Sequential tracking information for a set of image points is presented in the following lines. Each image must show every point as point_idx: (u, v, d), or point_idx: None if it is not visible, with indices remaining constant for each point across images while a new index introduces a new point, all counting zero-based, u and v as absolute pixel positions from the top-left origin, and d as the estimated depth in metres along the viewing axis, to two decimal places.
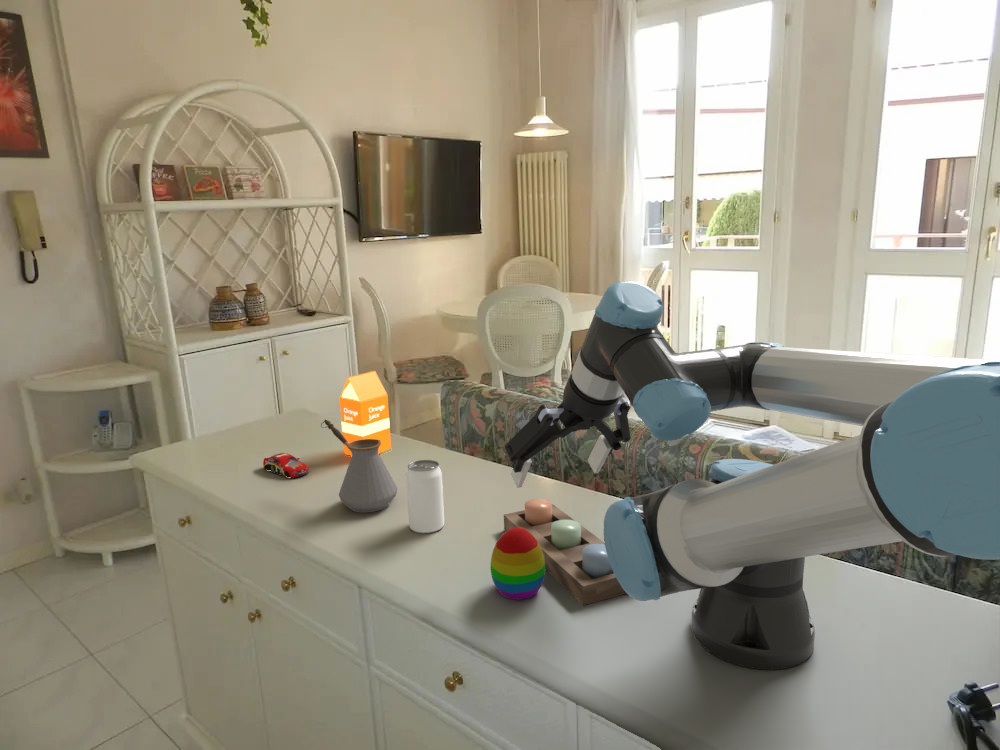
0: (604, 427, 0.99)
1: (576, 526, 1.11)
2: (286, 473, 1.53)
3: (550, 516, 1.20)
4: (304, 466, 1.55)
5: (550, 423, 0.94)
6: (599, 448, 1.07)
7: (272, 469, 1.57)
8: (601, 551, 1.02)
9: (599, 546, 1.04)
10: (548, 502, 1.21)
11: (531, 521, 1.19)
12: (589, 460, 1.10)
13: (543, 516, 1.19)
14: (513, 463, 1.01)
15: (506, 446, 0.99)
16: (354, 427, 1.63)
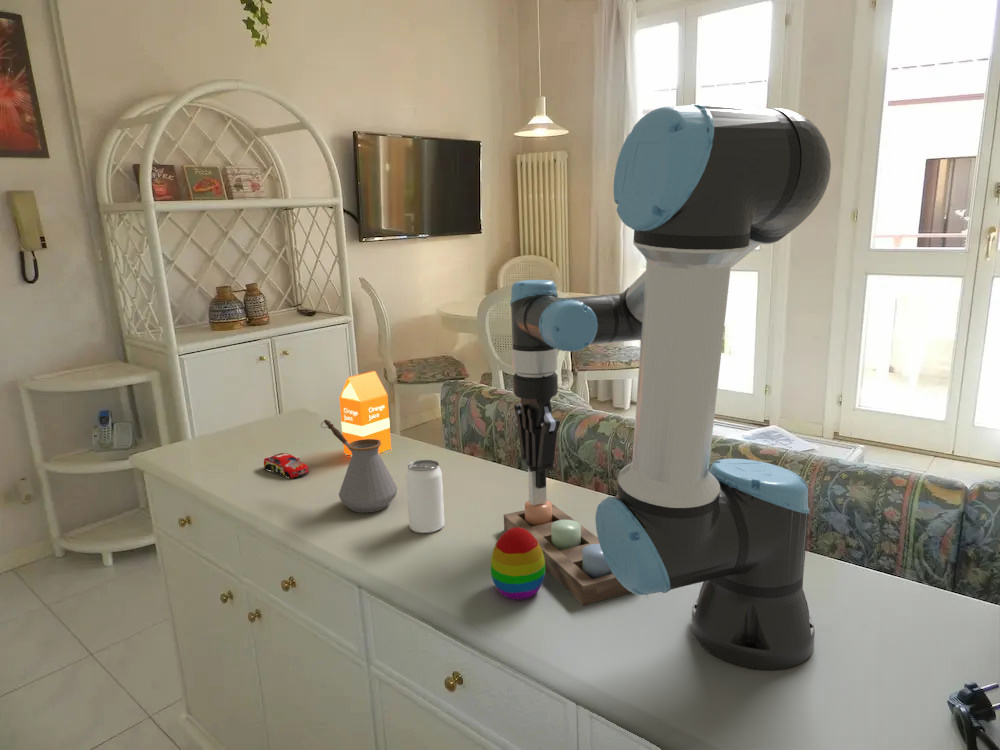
0: (531, 429, 1.15)
1: (576, 526, 1.11)
2: (286, 473, 1.53)
3: (550, 516, 1.20)
4: (304, 466, 1.55)
5: (517, 411, 1.21)
6: None
7: (272, 469, 1.57)
8: (601, 551, 1.02)
9: (599, 546, 1.04)
10: (548, 502, 1.21)
11: (531, 521, 1.19)
12: None
13: (543, 516, 1.19)
14: None
15: None
16: (354, 427, 1.63)
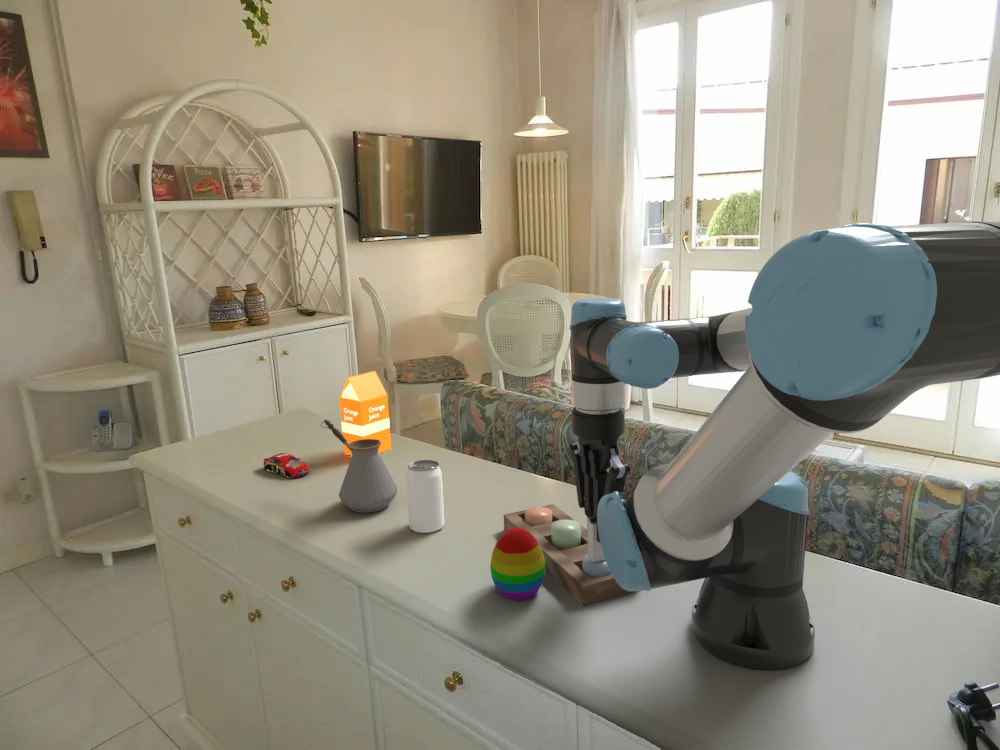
0: (593, 474, 0.98)
1: (576, 526, 1.11)
2: (287, 473, 1.53)
3: None
4: (305, 466, 1.55)
5: (573, 451, 1.03)
6: None
7: (273, 469, 1.57)
8: (601, 560, 1.03)
9: None
10: (548, 510, 1.21)
11: None
12: None
13: None
14: None
15: None
16: (354, 427, 1.63)
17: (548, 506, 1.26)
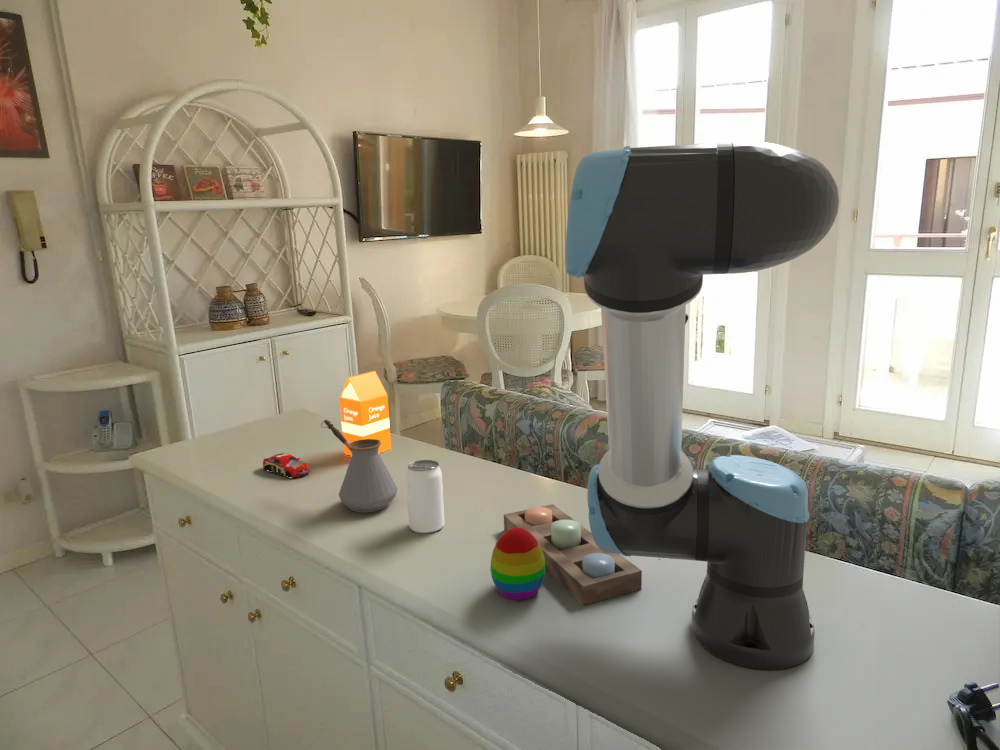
0: None
1: (576, 526, 1.11)
2: (287, 473, 1.53)
3: None
4: (305, 466, 1.55)
5: None
6: None
7: (272, 469, 1.56)
8: (601, 560, 1.03)
9: (599, 555, 1.04)
10: (548, 510, 1.21)
11: None
12: None
13: None
14: None
15: None
16: (354, 427, 1.63)
17: (548, 506, 1.26)
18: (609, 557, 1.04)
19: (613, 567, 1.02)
